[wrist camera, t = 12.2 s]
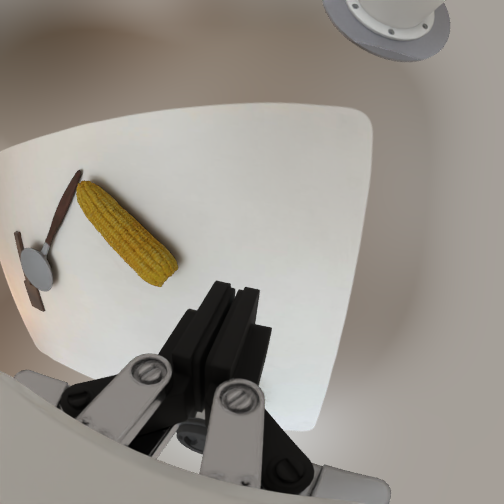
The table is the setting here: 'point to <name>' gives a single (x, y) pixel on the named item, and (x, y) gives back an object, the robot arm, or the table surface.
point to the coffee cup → (193, 433)
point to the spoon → (47, 244)
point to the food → (126, 235)
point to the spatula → (30, 287)
